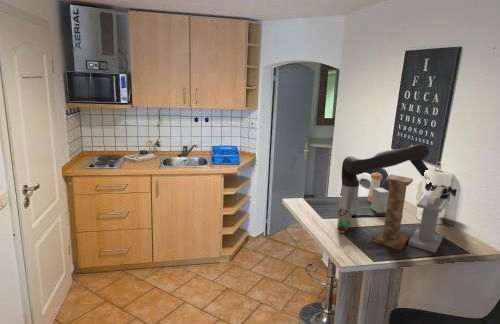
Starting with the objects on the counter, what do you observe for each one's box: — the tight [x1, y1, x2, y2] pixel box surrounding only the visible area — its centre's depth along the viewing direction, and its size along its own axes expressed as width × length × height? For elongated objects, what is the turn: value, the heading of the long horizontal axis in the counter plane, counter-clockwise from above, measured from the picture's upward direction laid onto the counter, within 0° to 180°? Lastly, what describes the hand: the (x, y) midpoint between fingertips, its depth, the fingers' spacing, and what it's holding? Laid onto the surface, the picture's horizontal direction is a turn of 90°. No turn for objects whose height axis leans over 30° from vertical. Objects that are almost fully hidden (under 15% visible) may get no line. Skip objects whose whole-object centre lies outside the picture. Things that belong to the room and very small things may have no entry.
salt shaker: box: [367, 171, 383, 203], centre depth 221 cm, size 7×7×19 cm
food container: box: [337, 207, 353, 235], centre depth 179 cm, size 12×6×10 cm, turn 168°
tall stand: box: [371, 174, 414, 251], centre depth 167 cm, size 14×14×32 cm
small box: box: [370, 187, 389, 214], centre depth 206 cm, size 8×6×13 cm
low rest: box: [407, 194, 447, 254], centre depth 168 cm, size 12×18×21 cm, turn 142°
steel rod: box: [427, 186, 444, 206], centre depth 169 cm, size 3×24×3 cm, turn 142°
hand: (439, 186), depth 174 cm, fingers open, 8 cm apart
